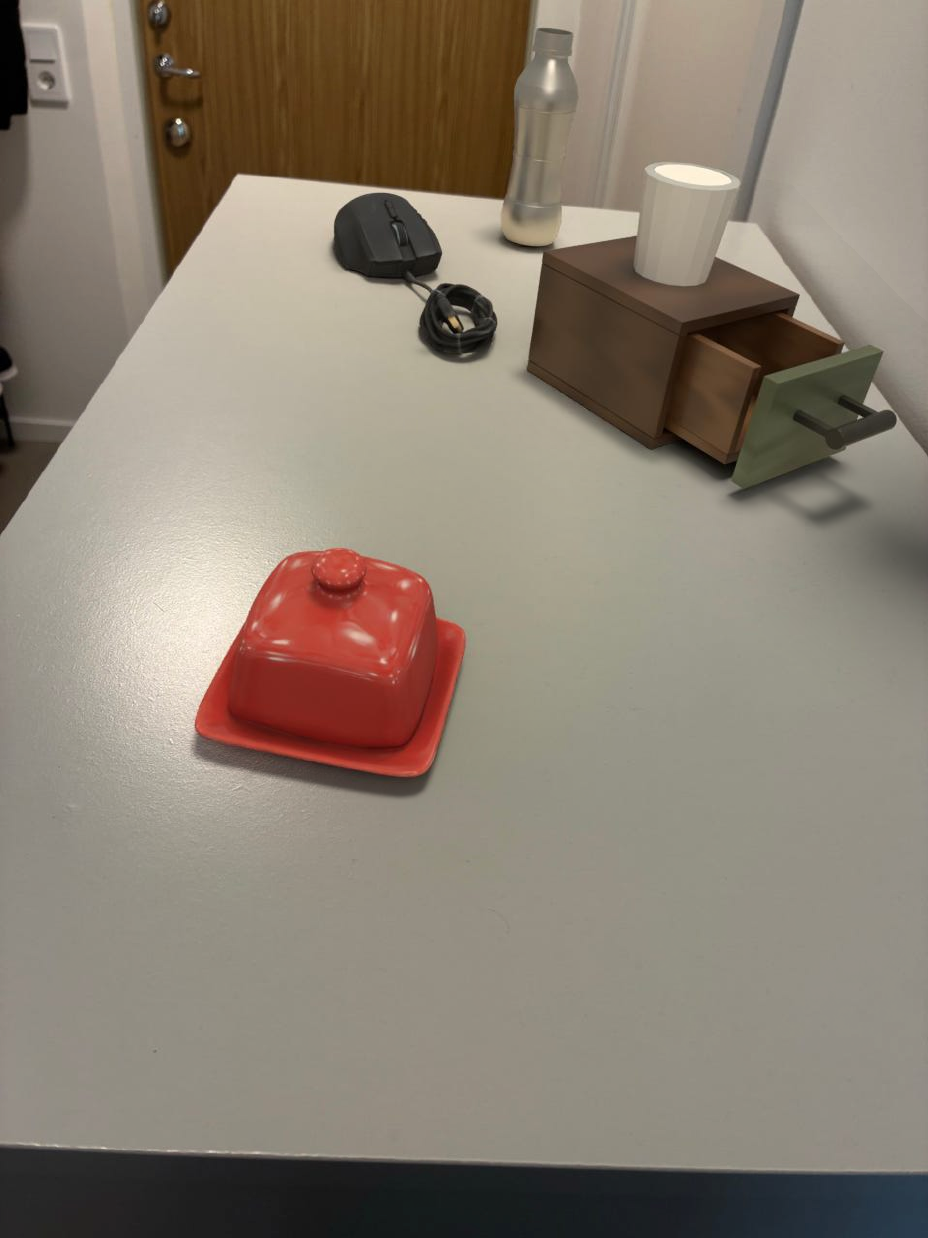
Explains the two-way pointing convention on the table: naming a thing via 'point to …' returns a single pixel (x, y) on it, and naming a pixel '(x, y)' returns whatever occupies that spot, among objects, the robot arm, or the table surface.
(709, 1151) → the table surface
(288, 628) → the butter dish
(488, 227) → the table surface
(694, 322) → the cabinet
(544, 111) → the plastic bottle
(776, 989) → the table surface
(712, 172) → the white cup
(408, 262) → the computer mouse
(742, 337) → the drawer
